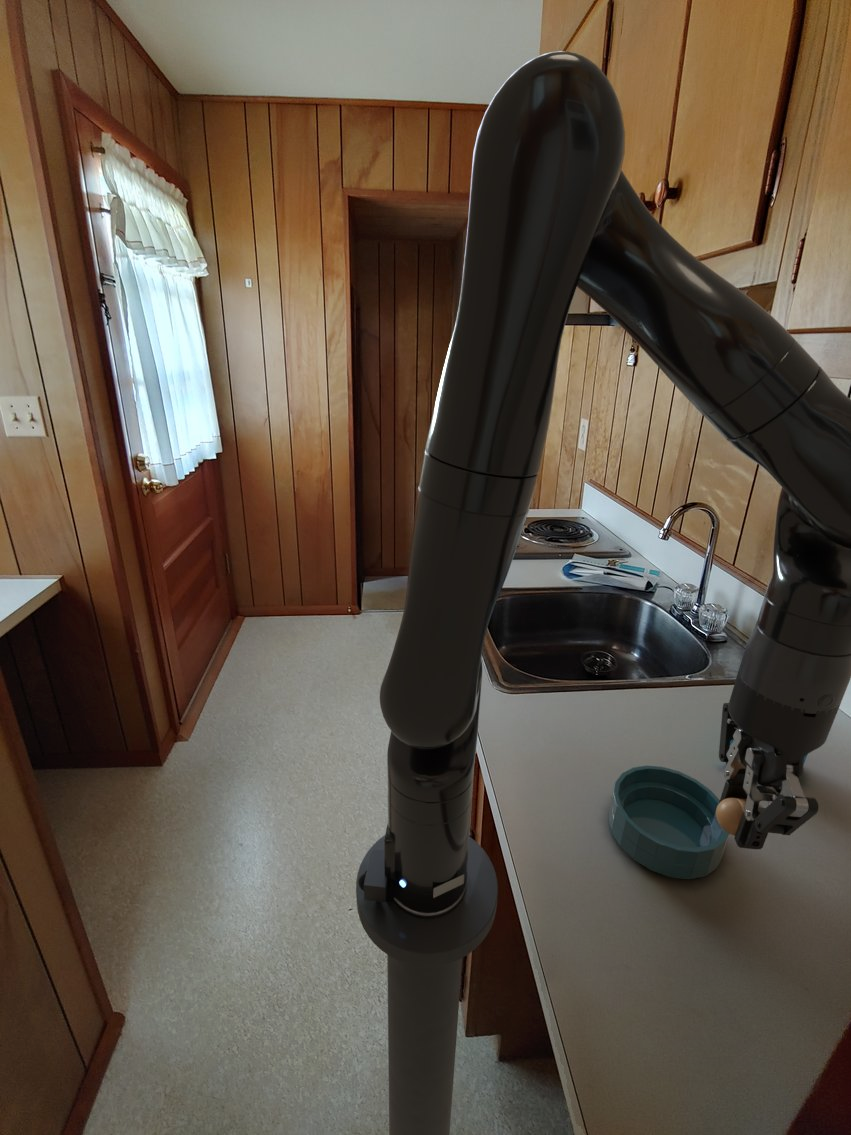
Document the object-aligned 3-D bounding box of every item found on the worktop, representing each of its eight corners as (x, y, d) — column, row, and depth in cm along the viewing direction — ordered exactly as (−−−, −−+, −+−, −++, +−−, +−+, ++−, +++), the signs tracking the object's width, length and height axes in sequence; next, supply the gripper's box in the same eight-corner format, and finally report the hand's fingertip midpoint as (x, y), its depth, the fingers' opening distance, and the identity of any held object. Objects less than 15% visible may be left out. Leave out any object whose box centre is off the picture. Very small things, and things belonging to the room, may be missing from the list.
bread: (719, 842, 52) (728, 816, 51) (707, 813, 55) (715, 788, 54) (770, 848, 52) (780, 821, 50) (754, 818, 55) (764, 793, 54)
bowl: (620, 876, 64) (627, 845, 62) (599, 789, 76) (604, 761, 74) (739, 888, 63) (750, 857, 61) (698, 798, 75) (706, 770, 73)
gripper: (713, 634, 53) (676, 771, 60) (782, 730, 41) (725, 890, 47) (794, 641, 53) (748, 778, 60) (891, 740, 40) (818, 901, 47)
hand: (738, 827), depth 53 cm, fingers closed on bread, 3 cm apart
